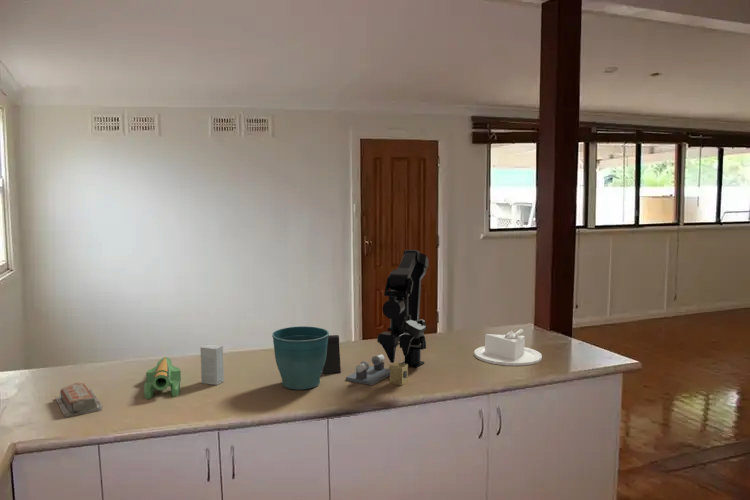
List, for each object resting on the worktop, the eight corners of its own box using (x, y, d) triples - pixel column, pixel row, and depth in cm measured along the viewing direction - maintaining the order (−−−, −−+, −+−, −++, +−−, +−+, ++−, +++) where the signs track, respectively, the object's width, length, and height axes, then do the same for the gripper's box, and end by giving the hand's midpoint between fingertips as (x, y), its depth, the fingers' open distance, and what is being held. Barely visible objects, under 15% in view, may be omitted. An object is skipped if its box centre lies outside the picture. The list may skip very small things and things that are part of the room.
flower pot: (331, 392, 191) (331, 338, 189) (273, 395, 188) (272, 341, 186) (326, 374, 208) (326, 325, 207) (272, 377, 205) (272, 327, 204)
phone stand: (340, 372, 210) (340, 338, 209) (323, 373, 209) (323, 339, 208) (336, 365, 219) (336, 332, 218) (320, 366, 218) (319, 333, 216)
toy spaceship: (149, 368, 214) (149, 348, 214) (181, 366, 217) (180, 346, 217) (143, 400, 184) (142, 376, 183) (179, 396, 187) (179, 373, 186)
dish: (549, 354, 235) (551, 325, 234) (528, 370, 214) (529, 339, 213) (489, 344, 249) (490, 317, 247) (463, 359, 228) (464, 329, 226)
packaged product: (102, 395, 175) (64, 402, 169) (103, 411, 175) (65, 419, 170) (90, 378, 190) (54, 384, 184) (91, 393, 190) (55, 400, 184)
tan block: (389, 382, 200) (389, 364, 199) (395, 379, 204) (395, 361, 203) (402, 385, 198) (402, 367, 197) (408, 381, 201) (408, 364, 200)
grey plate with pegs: (369, 368, 215) (369, 351, 215) (394, 372, 210) (394, 355, 210) (345, 380, 203) (345, 362, 202) (372, 385, 198) (372, 366, 197)
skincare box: (224, 381, 201) (223, 345, 200) (217, 385, 197) (216, 349, 195) (208, 379, 203) (207, 344, 201) (200, 383, 199) (199, 347, 197)
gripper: (408, 320, 186) (407, 370, 188) (434, 309, 202) (433, 355, 204) (376, 316, 192) (376, 365, 193) (404, 305, 208) (403, 350, 209)
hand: (398, 359), depth 200 cm, fingers open, 9 cm apart
